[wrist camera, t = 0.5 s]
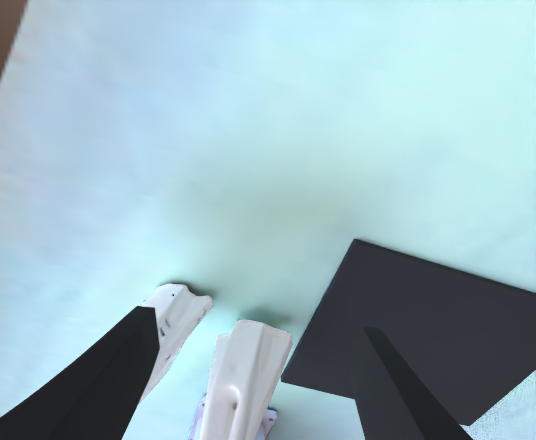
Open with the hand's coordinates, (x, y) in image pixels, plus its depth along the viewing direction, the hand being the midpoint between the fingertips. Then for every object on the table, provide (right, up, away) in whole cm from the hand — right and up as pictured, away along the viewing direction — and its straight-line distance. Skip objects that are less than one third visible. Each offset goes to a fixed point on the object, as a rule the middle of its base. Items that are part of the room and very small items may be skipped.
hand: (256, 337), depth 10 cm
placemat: (+14, -7, +14) cm, 21 cm away
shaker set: (-4, -3, +13) cm, 14 cm away
